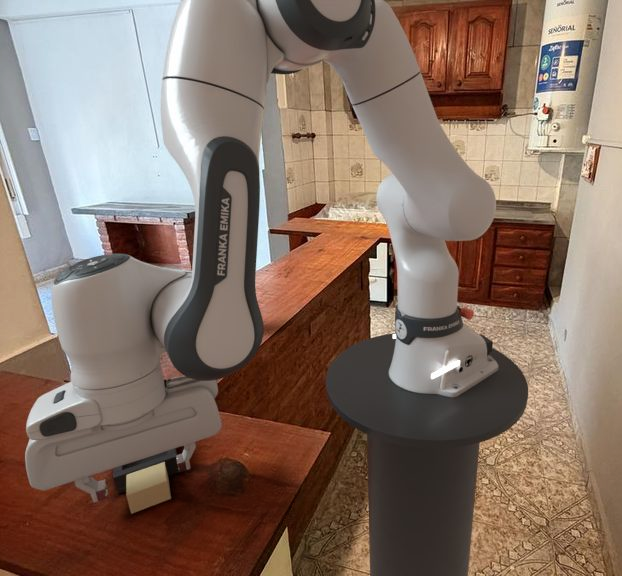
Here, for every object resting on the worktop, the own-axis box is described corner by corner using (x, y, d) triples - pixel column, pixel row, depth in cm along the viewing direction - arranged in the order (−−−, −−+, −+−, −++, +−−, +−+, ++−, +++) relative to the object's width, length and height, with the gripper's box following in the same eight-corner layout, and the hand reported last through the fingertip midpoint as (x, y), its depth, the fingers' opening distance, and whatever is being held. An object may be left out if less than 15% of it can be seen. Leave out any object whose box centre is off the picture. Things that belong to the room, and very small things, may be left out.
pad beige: (168, 478, 55) (164, 461, 55) (171, 498, 52) (166, 480, 51) (131, 492, 53) (126, 474, 52) (131, 514, 50) (126, 495, 49)
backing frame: (171, 419, 68) (168, 405, 67) (180, 472, 57) (176, 456, 56) (119, 434, 64) (116, 420, 63) (117, 494, 53) (113, 477, 52)
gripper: (211, 358, 55) (223, 440, 60) (19, 402, 45) (51, 497, 49) (219, 378, 50) (232, 466, 54) (5, 434, 40) (42, 537, 44)
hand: (144, 482), depth 52 cm, fingers open, 8 cm apart
